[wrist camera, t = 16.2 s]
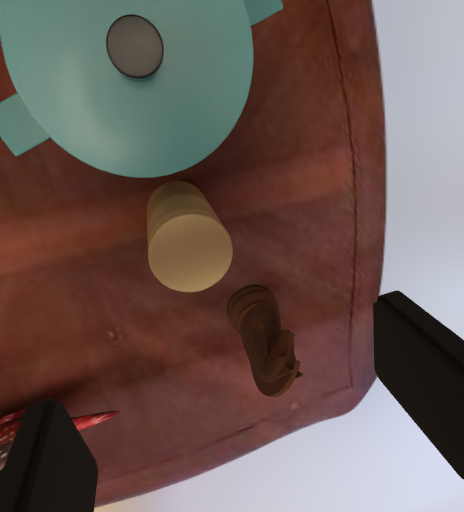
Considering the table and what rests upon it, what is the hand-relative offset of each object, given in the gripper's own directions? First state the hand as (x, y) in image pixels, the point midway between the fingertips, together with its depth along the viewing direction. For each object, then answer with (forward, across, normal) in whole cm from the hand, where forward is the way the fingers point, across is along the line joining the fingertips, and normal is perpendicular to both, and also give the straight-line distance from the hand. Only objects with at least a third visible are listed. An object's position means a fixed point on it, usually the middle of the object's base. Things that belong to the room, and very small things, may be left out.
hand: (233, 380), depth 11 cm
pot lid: (+12, 0, -9) cm, 16 cm away
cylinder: (+20, 0, +1) cm, 20 cm away
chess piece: (+20, -4, +12) cm, 23 cm away
